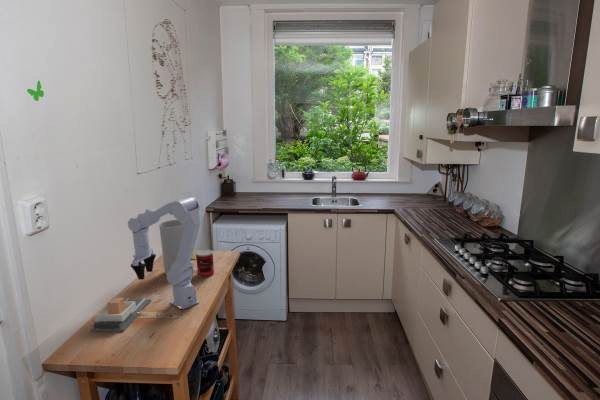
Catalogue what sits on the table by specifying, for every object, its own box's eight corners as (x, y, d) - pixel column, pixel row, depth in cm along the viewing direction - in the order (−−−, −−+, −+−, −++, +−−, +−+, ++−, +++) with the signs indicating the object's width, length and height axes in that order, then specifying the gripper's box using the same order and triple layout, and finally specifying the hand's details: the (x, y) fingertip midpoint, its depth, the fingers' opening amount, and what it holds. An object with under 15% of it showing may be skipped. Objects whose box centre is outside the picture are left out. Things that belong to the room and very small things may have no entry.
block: (114, 309, 139) (113, 297, 137) (125, 309, 138) (123, 297, 137) (109, 315, 135) (107, 303, 134) (119, 315, 134) (117, 302, 133)
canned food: (207, 269, 183) (205, 248, 181) (217, 273, 178) (215, 251, 176) (194, 274, 177) (192, 252, 175) (204, 278, 172) (202, 256, 170)
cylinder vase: (160, 278, 174) (154, 227, 169) (170, 267, 186) (165, 220, 181) (186, 277, 174) (181, 226, 168) (195, 267, 186) (190, 219, 180)
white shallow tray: (111, 310, 142) (110, 301, 141) (136, 310, 141) (135, 301, 141) (96, 324, 132) (94, 315, 131) (123, 324, 132) (121, 315, 131)
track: (122, 301, 152) (121, 294, 151) (151, 301, 152) (150, 294, 151) (90, 331, 131) (89, 324, 130) (123, 331, 130) (122, 323, 129)
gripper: (140, 239, 159) (144, 268, 162) (123, 250, 145) (127, 282, 148) (156, 238, 158) (159, 268, 161) (140, 250, 144) (144, 282, 147)
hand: (145, 275), depth 154 cm, fingers open, 7 cm apart
